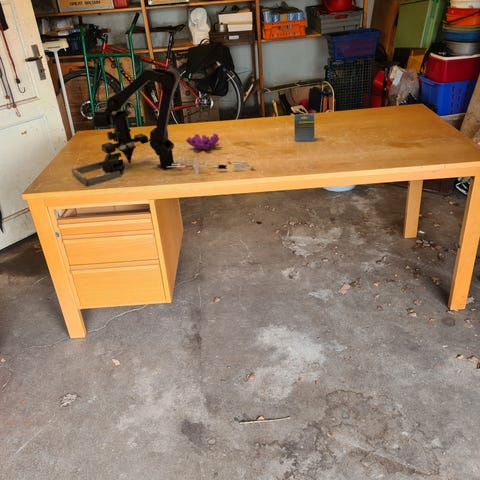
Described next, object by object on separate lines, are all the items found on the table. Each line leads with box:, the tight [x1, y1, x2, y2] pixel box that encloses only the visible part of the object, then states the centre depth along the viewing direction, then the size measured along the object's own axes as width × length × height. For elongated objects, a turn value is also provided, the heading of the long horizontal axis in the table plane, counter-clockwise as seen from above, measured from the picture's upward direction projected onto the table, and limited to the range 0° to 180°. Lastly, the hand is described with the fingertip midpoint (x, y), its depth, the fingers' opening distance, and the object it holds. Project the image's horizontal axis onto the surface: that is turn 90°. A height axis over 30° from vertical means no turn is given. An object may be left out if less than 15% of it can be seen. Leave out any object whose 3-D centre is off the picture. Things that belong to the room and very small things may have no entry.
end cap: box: [101, 152, 125, 175], centre depth 190 cm, size 10×7×7 cm
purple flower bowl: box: [185, 133, 220, 150], centre depth 208 cm, size 11×15×10 cm
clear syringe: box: [168, 155, 255, 175], centre depth 187 cm, size 6×35×12 cm
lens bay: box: [71, 160, 121, 187], centre depth 188 cm, size 17×14×3 cm
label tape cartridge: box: [294, 113, 315, 143], centre depth 208 cm, size 9×4×12 cm, turn 84°
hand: (129, 162), depth 195 cm, fingers closed
